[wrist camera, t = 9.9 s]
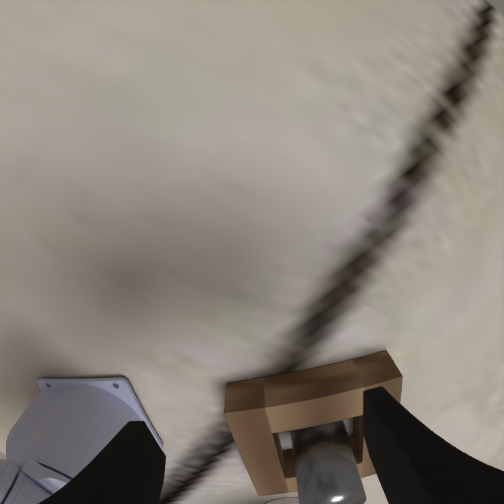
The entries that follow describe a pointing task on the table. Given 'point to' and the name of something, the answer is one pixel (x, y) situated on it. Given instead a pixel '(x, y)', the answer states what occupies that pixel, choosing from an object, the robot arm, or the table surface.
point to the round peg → (326, 465)
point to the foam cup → (285, 501)
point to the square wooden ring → (302, 414)
